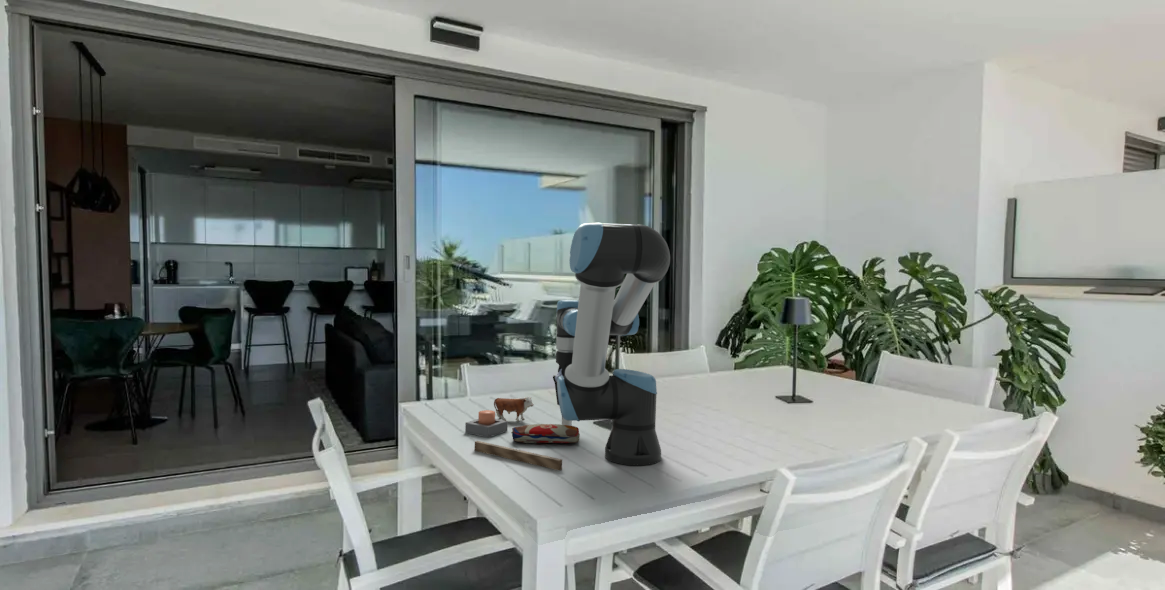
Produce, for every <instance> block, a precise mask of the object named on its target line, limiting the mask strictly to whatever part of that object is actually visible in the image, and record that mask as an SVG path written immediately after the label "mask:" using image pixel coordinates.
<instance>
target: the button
mask: <svg viewBox="0 0 1165 590" xmlns="http://www.w3.org/2000/svg"><path fill="white" fill-rule="evenodd" d="M477 419H478V424H483V425H491V424H494V423H495V419H496V410H490V409H488V410H487V409H486V410H479V411H478V418H477Z"/></svg>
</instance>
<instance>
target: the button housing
mask: <svg viewBox="0 0 1165 590" xmlns="http://www.w3.org/2000/svg"><path fill="white" fill-rule="evenodd" d="M508 423H509V422H508V420H506V421H504V420H502V419H499V418H498V419H497V418H495V423H494V424H491V425H483V424H478V418H477V419H473V420H469V421H467V422H465V426H464V427H465V428H464V429H465V430H464V432H465V434H470V435H475V436H476V435H477V436H479V437H483V438H490V437H494V436H496V435H500V434H502V433H505V432H508V425H509V424H508Z"/></svg>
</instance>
